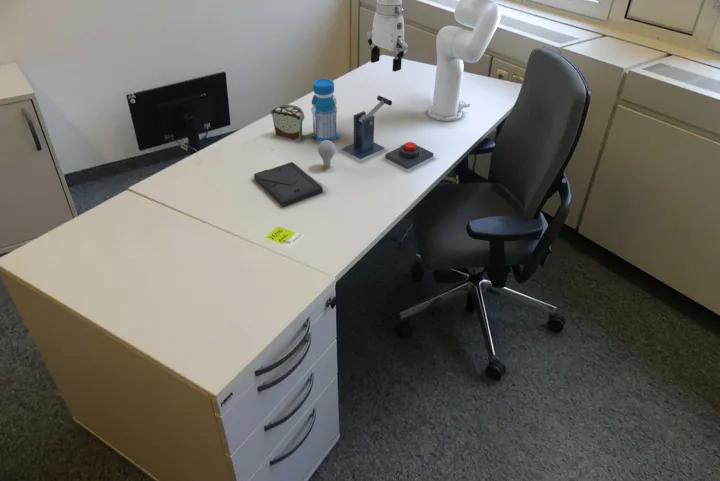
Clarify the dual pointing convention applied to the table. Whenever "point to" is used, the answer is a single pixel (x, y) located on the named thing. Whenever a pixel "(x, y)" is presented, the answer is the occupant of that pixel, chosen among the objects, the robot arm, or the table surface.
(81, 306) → the table surface
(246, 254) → the table surface
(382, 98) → the switch lever
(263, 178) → the picture frame
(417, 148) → the button housing
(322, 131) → the beverage bottle
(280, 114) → the food container
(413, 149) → the stop button
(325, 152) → the light bulb
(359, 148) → the switch bracket
